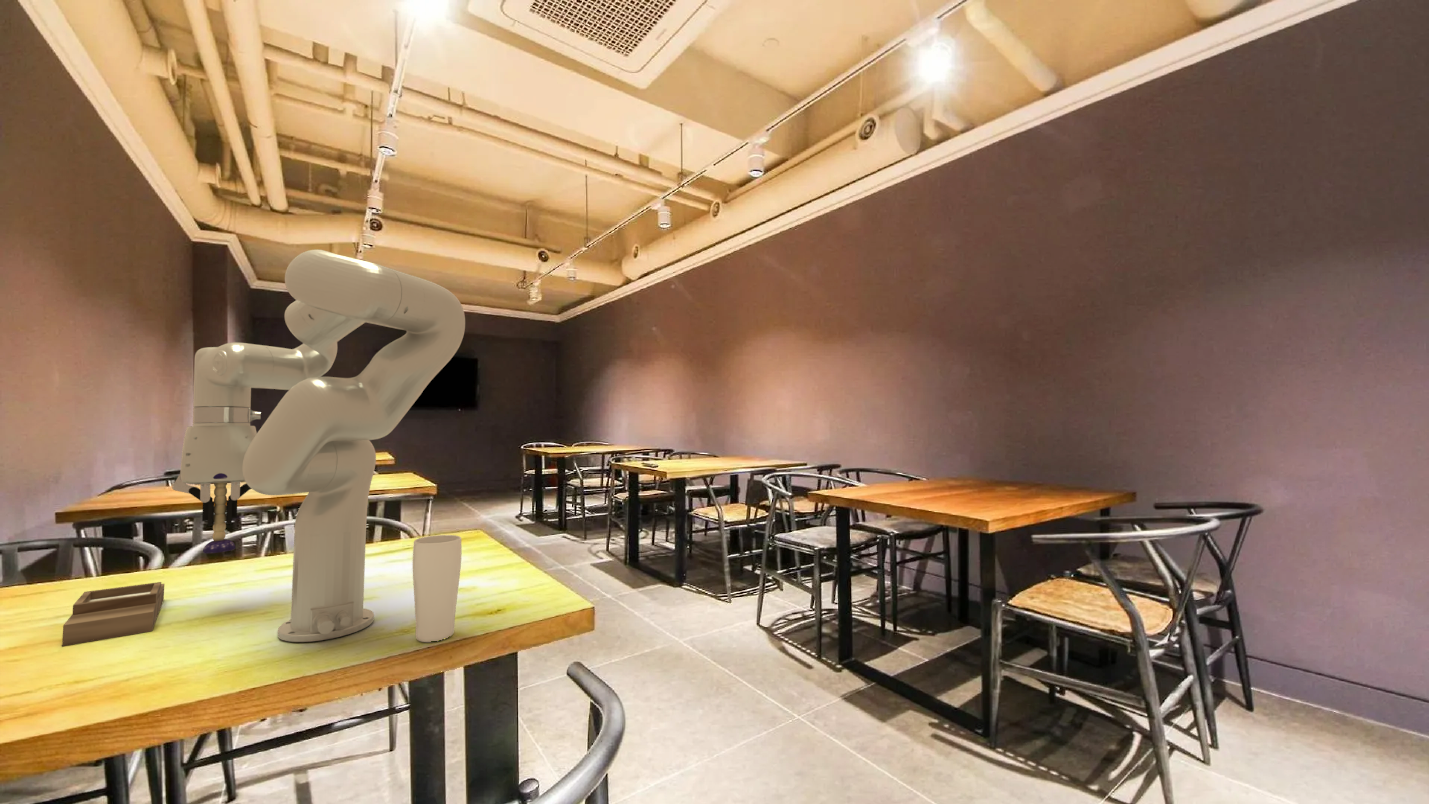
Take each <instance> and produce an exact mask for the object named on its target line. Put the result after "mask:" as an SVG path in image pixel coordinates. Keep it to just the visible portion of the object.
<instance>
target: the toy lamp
mask: <svg viewBox="0 0 1429 804" xmlns="http://www.w3.org/2000/svg"><path fill="white" fill-rule="evenodd" d="M213 478H214V479H225V478H227V475H225V474H223V473H219V474H216V475H215V476H214V477H213ZM213 485H214V490H213V493H214V498H213V502H214V519H213V521H214V523H213V525H212V530H213V533H212V541H210V542H207V544H205V546H204V547H203V549H202V553H203V554H216V553H224V552H229V551H234V550H235V549H236V545H235V543H234V542H233V541H232V540H230V539H226V535H227V533H226V531H225V530H226V528H227V523H226V511H227V500H228V498H227V496H226V495H227V493H228V489H227V485H228V482H227V483H213Z"/></svg>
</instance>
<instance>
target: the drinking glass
mask: <svg viewBox="0 0 1429 804" xmlns="http://www.w3.org/2000/svg"><path fill="white" fill-rule="evenodd" d="M412 546H413V547H412V548H413V549H412V582H413V583H412V585H413V597H414V615H415V616H414V618H415V638H416V640H417V641H419V642H421V643H432V642H431V641H437V642H439V641H438V640H441V641H443V640H442V639H444V638H447V639H449V638H450V637H452V636H453V635H454V633H455V627H456V625H455V622H456V621H455V619H456V613H457V600H458V593H459V585H460V578H461V567H462V537H461V536H460V535H456V534H455V535H454V534H439V535H438V534H437V535H436V534H435V535H428V536H423V537H419V538H417V539H414V541H413V545H412ZM449 636H450V637H449ZM448 637H449V638H448ZM444 640H445V639H444Z"/></svg>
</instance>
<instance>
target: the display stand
mask: <svg viewBox="0 0 1429 804" xmlns="http://www.w3.org/2000/svg"><path fill="white" fill-rule="evenodd" d="M164 598H165V583H162V582H161V581H158V582H151V583H141V584H135V585H127V586H120V587H113V588H104V589H103V588H102V589H96V590H90V591H88V590H86V591H84V592H83V593H82V594H81V596H79V597H78V598H77V600H76V601H75V602H74V604H73V605H72V614H71V615H70V616H69V618H68V619H67V620H66V621H65V623H64V624H63V625H62V641H61V647H65V646H66V647H67V646H71V645H77V644H84V643H88V642H95V641H101V640H108V639H113V638H120V637H126V636H130V635H135V634H143V633H147V632H148V633H149V632H153V629H154V627H155V624H156V622H157V619H158V616H159V613H160V611H161V608H162V605H163V604H164V600H165V599H164Z"/></svg>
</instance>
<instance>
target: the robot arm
mask: <svg viewBox="0 0 1429 804" xmlns="http://www.w3.org/2000/svg"><path fill="white" fill-rule="evenodd" d="M284 284H285V287H286V289H287V292H288V293H289V295H290V296H291V297H292V298H293V299H294V300H295V301H293V302H292V303H290V304H289V305H288V306H287V307H286V309H285V311H284V321H285V325H286V326H287V328H288V330H289V331H290V333H291V334H292V335H293V336H294V337H295V338H296V339H297V340H298V341H299V342H300V343H302V344H300V345H299V346H296V347H295V348H292V349H291V348H287V347H286V348H285V347H280V346H269V345H264V344H263V345H262V344H254V343H246V342H227V343H224V344H222V345H220V346H213V347H212V346H210V347H201V348H200V349H198V350H196V352H195V354H194V370H193V375H194V376H193V401H192V403H193V408H192V410H193V411H192V426H187V427H186V430H185V433H184V436H183V442H182V443H183V444H182V449H181V460H180V472H179V474H178V476H177V478H176V479H175V481H174V483H173V485H172V487H171V488H172V490H173V491H175V492H176V491H177V492H181V493H184V494H190V495H191V496H193V497H194V498H196V499H198V500H199V501H200V502H202V518H201V519H202V520H201V521H202V522H207V526H208V527H211V526H212V527H213V525H214V521H213V519H214V514H215V513H214V506H215V504H214V498H213V497H212V496H211V484H214V483H227V484H228V483H230V495H228V498H227V502H226V506H227V510H226V512H225V514H226V521H225V523H226V524H227V525H230V524H232V522H233V521H232V520H233V519H238V500H239V499H240V498H241V497H243V496H244V495H245V494H246V493H248V492H249V491H250V490H253V491H255V492H257V493H258V494H262V495H265V496H266V495H267V496H285V495H295V494H305V493H307V495H306V496H305V498H304V499H303V501H302V503H301V505H300V506H299V508H298V511H297V514H296V516H295V520H294V521H295V522H294V536H293V558H292V559H293V561H292V579H291V580H292V581H291V583H292V584H291V585H292V586H291V587H292V588H291V606H290V607H291V608H290V609H291V610H290V619H288V620H286V621H284V622H283V623H282V624H281V625H279V626H278V628H277V637H278V638H279V640H282V641H286V642H291V643H309V642H319V641H325V640H332V639H336V638H340V637H344V636H348V635H351V634H354V633H356V632H359V631H362V630H364V629H365V628H368V627H369V626H370V625H372V624H373V622H374V619H375V614H374V612H373V610H371V609H368V608H364V597H365V596H364V595H365V594H364V593H365V569H366V566H365V565H366V543H367V542H366V540H367V539H366V538H367V522H368V521H367V519H368V518H367V517H368V502H369V495H370V489H371V485H372V481H373V476H374V474H375V473H374V472H375V468H376V463H377V454H376V453H377V452H376V449H375V447H374V445H373V443H372V442H371V441H372V440H374V441H375V440H379V439H381V438H385V437H386V436H388V435H389V434H390V433H392V432H393V430H394V429H395V428H396V427H397V426H398V425H399V423H400V422H401V420H402V419H403V418H404V417H405V416H406V414H407V413H408V411H410V409H411V408H412V406H413V405H414V404H415V402H416V401H417V400H418V399H419V397H420V396H421V395H422V393H423V391H424V390H425V389H426V388H427V386H428V385H429V384H430V383H431V381H432V380H434V378H435V377H436V376H437V375H438V374H439V373H440V372H441V371H442V370H443V368H444V367H445V366H446V365H447V364H448V363H449V362H450V361H451V360H452V358H453V357H454V356H455V354H456V353H457V352H458V350H459V348H460V346H461V344H462V342H463V338H464V335H465V331H466V330H465V329H466V316H465V311H464V307H463V306H462V303H461V302H460V300H459V299H458V298H457V296H456V295H455V294H454V293H453V292H451V291H450V290H449V289H447V288H445V287H444V286H441V285H440V284H437V283H435V282H433V281H430V280H427V279H425V278H421V277H419V276H415V275H412V274H409V273H406V272H403V271H400V270H396V269H393V268H390V267H387V266H384V265H381V264H379V263H374V262H371V261H367V260H362V259H358V258H354V257H350V256H345V255H342V254H336V253H333V252H330V251H327V250H324V249H310V250H307V251H304V252H301V253H299V254H298V255H297V256H296V257H294V258H293V259H291V261H290V262H289V264H288V266H287V268H286V270H285V273H284ZM365 323H368V324H373V325H378V326H383V327H387V328H392V329H396V330H402V331H406V332H405V334H404V335H402V336H401V337H399V338H397V339H395V340H393V341H392V342H389V343H388V344H386V345H385V346H383V347H382V348H381V349H380V350H378V351H377V352H376V353H375V354H374V355H373V357H372V358H371V360H370V361H369V363H368V364H367V365H366V367H365V368H363V370H362V371H361V372H360V373H359V374H358V375H356V376H353V377H336V376H334V377H333V376H324V375H325V374H326V373H328V372H329V370H331V368H332V366H333V364H334V362H335V360H336V357H337V355H338V354H337V353H338V342H340V340H342V339H343V338H344V337H347V336H348V335H349V334H350V333H352V332H353V331H355V330H356V329H357V328H359V327H361V326H362V325H363V324H365ZM252 389H269V390H274V389H275V390H284V391H287V392H286V393H285V394H284V395H283V397H282V398H281V399H280V401H279V402H278V403H277V405H276V406H275V407H274V409H273V410H272V411H271V413H270V414H269V415H268V417H267V419H266V420H265V421H264V423H263V424H262V425H261V426H260V427H261V428H260V429H259V430H258V431H257V427H256V426H255V425H251V422H253V421H255V420H261V415H262V414H261V413H262V412H261V411H256V410H252V409H251V400H252V399H251V398H252ZM219 473H223V474H225V475H227V478H225V479H214V478H213V477H214V476H215V475H216V474H219ZM241 482H245V483H243V484H242V485H241ZM194 485H199V486H200V488H199V487H198V486H194Z"/></svg>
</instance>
